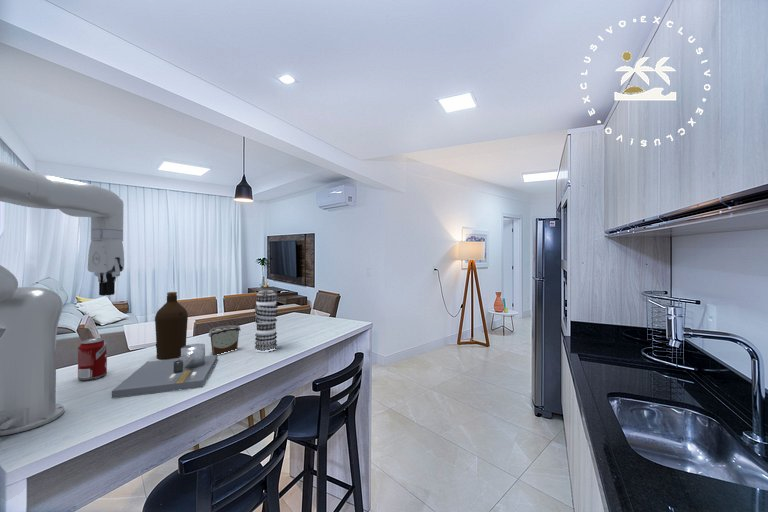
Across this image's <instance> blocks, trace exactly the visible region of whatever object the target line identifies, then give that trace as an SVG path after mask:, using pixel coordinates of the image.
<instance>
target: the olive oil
mask: <svg viewBox="0 0 768 512" xmlns="http://www.w3.org/2000/svg"><path fill="white" fill-rule="evenodd" d="M177 293H178V292H177V291H168V292H166V302H165V303H164V304H163V305H162V306H161V307H160V308H159V309H158V310H157V312H156V314H155V316H154V326H155V327H154V329H155V349H156V359H158V360H170V359H179V358H181V347H183V346H186V345H187V336H188V335H187V334H188V333H187V332H188V319H189V317H188V316H189V314H188V312H187V309H186V308H185V307H184V306H183V305H181V303H179V302H178V295H177Z"/></svg>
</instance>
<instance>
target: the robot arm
mask: <svg viewBox="0 0 768 512" xmlns="http://www.w3.org/2000/svg"><path fill="white" fill-rule="evenodd" d="M0 202H3V203H7V204H13V205H16V206H21V207H26V208H27V207H28V208H34V209H35V208H36V209H43V210H59V211H60V212H61V213H63V214H65V215H67V216H70V217H76V218H78V217H79V218H90V243H89V248H88V256H87V271H88V272H90V273H94V276H96V277H97V281H98V283H99V284H98V295H99V296H113V295H115V292H116V291H115V285H116V284H115V282H116V280H117V278H118V277H120V276H121V273H122V272H123V271H124V269H125V251H124V244H123V242H124V206H125V205H124V201H123V200H122V199H121V198H120V196H119V195H118V194H116V193H115V192H114V191H112V190H110V189H107V188H104V187H101V186H97V185H95V184H91V183H86V182H81V181H77V180H72V179H67V178H63V177H59V176H53V175H48V174H45V173H39V172H36V171H33V170H29V169H25V168H23V167H19V166H16V165H13V164H10V163H7V162H4V161H0ZM63 305H64V304H63V300H62V298H61V296H60V295H59V294H58V293H56V292H55V291H53V290H51V289H50V288H49V289H48V288H44V287H36V286H35V287H34V286H33V287H29V286H28V287H27V286H26V287H25V286H23V287H20V286H19V282H18V279H17V278H16V276H15V275H14V273H12V272H11V271H10V270H9V269H7V268H6V267H4V266H3V265H1V264H0V329H4V330H5V331H4V332H3V334H2V335H1V336H0V436H1V437H2V436H9V435H13V434H17V433H22V432H26V431H30V430H32V429H35V428H39V427H40V426H44V425H46V424H48V423H51V422H53V421H54V420H55V421H56V420H57V419H58V418H60V417H61V416H62V415H63V414H64V413H65V406H64V405H63V404H59V403H57V402H56V399H57V398H56V397H57V396H56V393H57V391H56V389H57V388H56V387H57V385H56V384H57V333H58V326H59V324H60V323H59V322H60V319H61V317H62V316H61V315H62V312H63V308H64V307H63Z"/></svg>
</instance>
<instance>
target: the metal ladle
mask: <svg viewBox="0 0 768 512" xmlns="http://www.w3.org/2000/svg"><path fill="white" fill-rule="evenodd" d="M205 356H206V344H205V343H190V344H186V346H183V347H181V357H179V358H178V359H179V360H178V361H175V362H174V370H173V373H181V372H183V368H190V367H196V366H200V365H202V364H204V363H205Z"/></svg>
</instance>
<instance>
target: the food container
mask: <svg viewBox="0 0 768 512" xmlns="http://www.w3.org/2000/svg"><path fill="white" fill-rule="evenodd" d="M240 332H241V327H240V325H223V326H222V325H221V326H217V327H212V328H210V329H209V332H208V337H210V344H211V354H212V355H217V354H221V353H224V352H228V351H231V350H235V349H237V350H238V346H239V337H240ZM212 355H211V356H212ZM221 355H222V354H221ZM217 356H218V355H217Z"/></svg>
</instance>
